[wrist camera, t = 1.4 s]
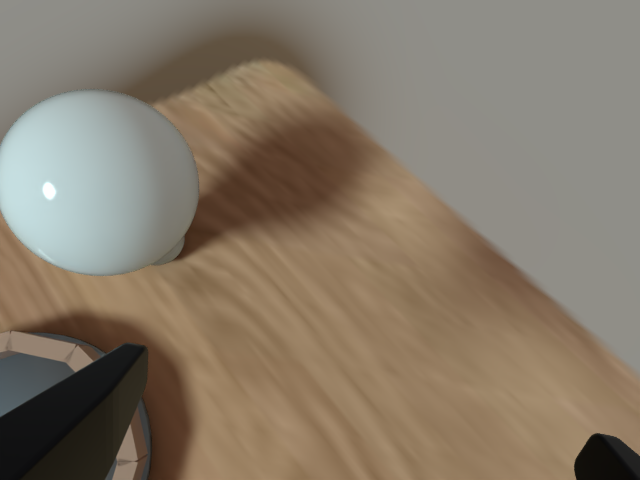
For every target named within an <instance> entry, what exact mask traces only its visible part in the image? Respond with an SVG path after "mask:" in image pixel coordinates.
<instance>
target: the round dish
mask: <svg viewBox="0 0 640 480" xmlns="http://www.w3.org/2000/svg"><path fill="white" fill-rule="evenodd" d="M105 354H107V353H105V352H104V351H102V350H100V349H99V348H97V347H96V346H94V345H91V344H89V343H87V342H85V341H82V340H79V339H76V338H72V337H69V336H64V335H57V334H50V333H26V332H18V331H7V332H4V333H0V417H1V416H2V415H4V414H6V413H8V412H9V411H11V410H13V409H14V408H16V407H18V406H19V405H21V404H23V403H24V402H26V401H28V400H29V399H31V398H33V397H34V396H36V395H38V394H40V393H41V392H43V391H45V390H46V389H48V388H50V387H51V386H53V385H55V384H56V383H58V382H60V381H61V380H63V379H65V378H67V377H68V376H70V375H72V374H73V373H75V372H77V371H78V370H80V369H82V368H83V367H85V366H87V365H88V364H90V363H92V362H94V361H95V360H97V359H99V358H100V357H102V356H104V355H105ZM151 456H152V435H151V428H150V422H149V417H148V413H147V410H146V407H145V403H144V401H143V399H142V397H141V399H140V401H139V404H138V406H137V409H136V411H135V413H134V416H133V418H132V421H131V423H130V425H129V428H128V430H127V433H126V435H125V437H124V440H123V442H122V445H121V447H120V449H119V452H118V454H117V456H116V459H115V461H114V463H113V465H112V467H111V469H110V471H109V473H108V475H107V477H106V479H105V480H148V477H149V473H150V466H151Z"/></svg>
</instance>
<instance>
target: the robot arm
mask: <svg viewBox="0 0 640 480" xmlns="http://www.w3.org/2000/svg"><path fill="white" fill-rule="evenodd" d="M147 372H148V349H147V347H146V346H144V345H139V344H134V343H124V344H122V345H121V346H119V347H117V348H115V349H114V350H112V351H110V352H109V353H107V354H105V355H104V356H102V357H100V358H99V359H97V360H95V361H94V362H92V363H90V364H88V365H87V366H85V367H83V368H82V369H80V370H78V371H77V372H75V373H73V374H72V375H70V376H68V377H67V378H65V379H63V380H61V381H60V382H58V383H56V384H55V385H53V386H51V387H50V388H48V389H46V390H45V391H43V392H41V393H40V394H38V395H36V396H34V397H33V398H31V399H29V400H28V401H26V402H24V403H23V404H21V405H19V406H18V407H16V408H14V409H13V410H11V411H9V412H8V413H6V414H4V415H2V416H1V417H0V480H105V479H106V477H107V475H108V473H109V471H110V469H111V467H112V465H113V463H114V461H115V459H116V456H117V454H118V452H119V449H120V447H121V445H122V442H123V440H124V437H125V435H126V433H127V430H128V428H129V425H130V423H131V421H132V418H133V416H134V413H135V411H136V409H137V406H138V404H139V401H140V399H141V397H142V394H143V392H144V389H145V386H146V382H147ZM574 471H575V476H576V480H640V456H639V455H638V454H637V453H635V452H634V451H633V450H632V449H631V448H629V447H628V446H627V445H626V444H625V443H623V442H622V441H621V440H620V439H618V438H617V437H614V436H610V435H605V434H600V433H596V434H593V435H592V436H591V437H590V438H589V439H588V441H587V442H586V444H585V446H584V447H583V449H582V450H581V452H580V453H579V455H578V456H577V458H576V460H575V464H574Z"/></svg>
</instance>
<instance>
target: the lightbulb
mask: <svg viewBox="0 0 640 480" xmlns="http://www.w3.org/2000/svg"><path fill="white" fill-rule="evenodd" d="M198 200H199V175H198V170H197V166H196V162H195V159H194V156H193V154H192V151H191V149H190V147H189V145H188V144H187V142H186V140H185V139H184V137H183V136H182V134H181V133H180V132H179V130H178V129H177V128H176V127H175V126H174V125H173V124H172V123H171V122H170V121H169V120H168V119H167V118H166V117H165V116H164V115H163V114H161V113H160V112H159V111H157V110H156V109H155V108H153V107H151V106H150V105H148V104H146V103H144V102H143V101H141V100H138V99H136V98H134V97H131V96H128V95H125V94H122V93H118V92H113V91H108V90H99V89H83V90H74V91H69V92H64V93H61V94H57V95H55V96H52V97H50V98H47V99H45V100H43V101H41V102H39V103H38V104H36V105H34V106H33V107H31V108H30V109H29V110H27V111H26V112H25V113H24V114H22V115H21V116H20V117H19V119H17V120H16V121H15V123H14V124H13V125H12V126H11V128H10V129H9V130H8V132H7V133H6V135H5V137H4V139H3V141H2V143H1V145H0V211H1V214H2V216H3V218H4V220H5V221H6V223H7V225H8V226H9V228H10V229H11V231H12V232H13V233H14V235H15V236H16V237H17V238H18V239H19V241H20V242H21V243H22V244H23V245H24V246H25V247H27V248H28V249H29V250H30V251H31V252H33V253H34V254H35V255H37V256H38V257H40V258H41V259H43V260H44V261H46V262H48V263H50V264H52V265H54V266H56V267H59V268H61V269H64V270H67V271H70V272H73V273H78V274H83V275H90V276H114V275H121V274H126V273H130V272H134V271H137V270H140V269H142V268H145V267H147V266H149V265H162V264H166V263H168V262H170V261H172V260H173V259H175V258H176V257H177V256H178V255H179V253H180V252H181V250H182V248H183V246H184V241H185V234H186V232H187V231H188V229H189V227H190V225H191V223H192V221H193V218H194V216H195V213H196V209H197V205H198Z"/></svg>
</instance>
